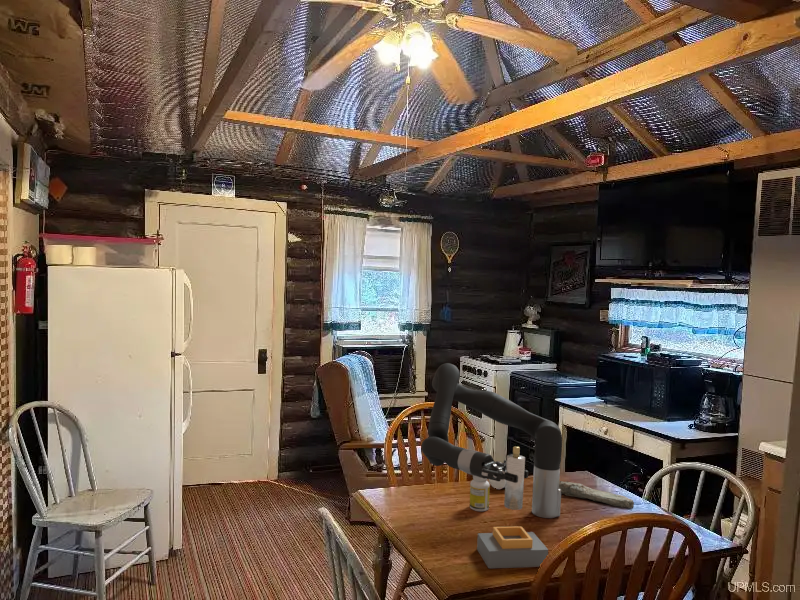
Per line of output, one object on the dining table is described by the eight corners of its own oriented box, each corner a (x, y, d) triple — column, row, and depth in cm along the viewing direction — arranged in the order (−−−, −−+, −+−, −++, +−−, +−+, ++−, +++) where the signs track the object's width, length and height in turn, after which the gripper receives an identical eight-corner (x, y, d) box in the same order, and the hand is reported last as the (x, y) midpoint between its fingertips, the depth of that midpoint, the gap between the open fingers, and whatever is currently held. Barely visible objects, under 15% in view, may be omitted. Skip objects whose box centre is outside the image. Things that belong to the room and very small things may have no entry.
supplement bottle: (479, 503, 215) (481, 469, 215) (492, 509, 210) (494, 475, 209) (465, 506, 211) (466, 472, 211) (478, 513, 206) (479, 478, 205)
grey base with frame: (530, 545, 182) (531, 522, 181) (547, 566, 168) (548, 541, 168) (475, 546, 179) (476, 523, 179) (488, 568, 166) (489, 542, 165)
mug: (487, 486, 234) (488, 467, 234) (500, 480, 242) (501, 462, 241) (513, 494, 226) (514, 474, 226) (526, 488, 234) (526, 469, 233)
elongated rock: (630, 515, 214) (634, 508, 222) (632, 501, 213) (636, 495, 222) (539, 489, 232) (546, 484, 240) (540, 476, 232) (548, 471, 240)
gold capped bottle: (518, 502, 175) (521, 444, 175) (525, 509, 170) (528, 450, 170) (501, 502, 175) (505, 444, 174) (507, 509, 169) (510, 449, 169)
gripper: (462, 455, 176) (510, 469, 165) (488, 447, 187) (535, 459, 176) (461, 479, 176) (509, 495, 165) (487, 469, 187) (533, 483, 176)
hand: (522, 477), depth 170 cm, fingers closed on gold capped bottle, 5 cm apart
